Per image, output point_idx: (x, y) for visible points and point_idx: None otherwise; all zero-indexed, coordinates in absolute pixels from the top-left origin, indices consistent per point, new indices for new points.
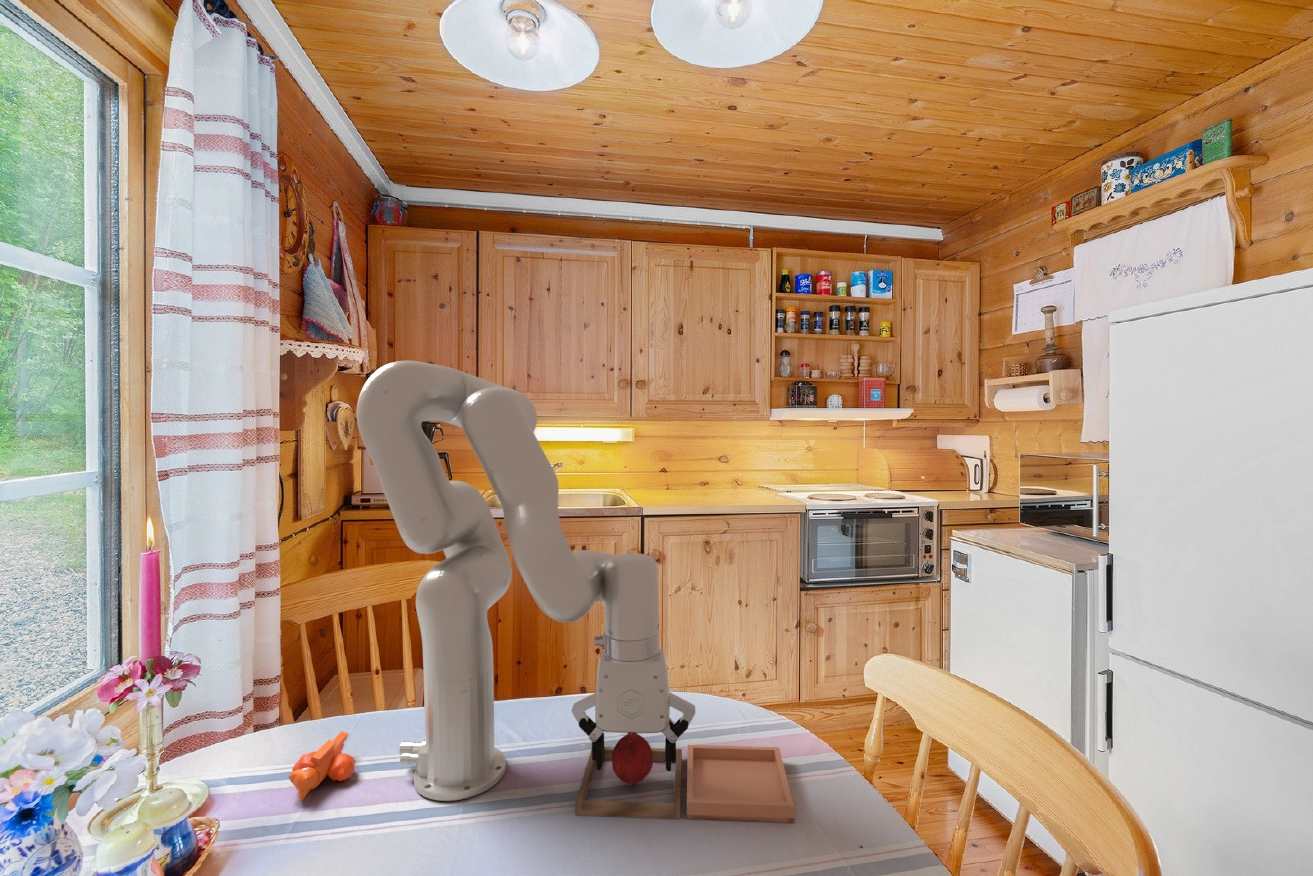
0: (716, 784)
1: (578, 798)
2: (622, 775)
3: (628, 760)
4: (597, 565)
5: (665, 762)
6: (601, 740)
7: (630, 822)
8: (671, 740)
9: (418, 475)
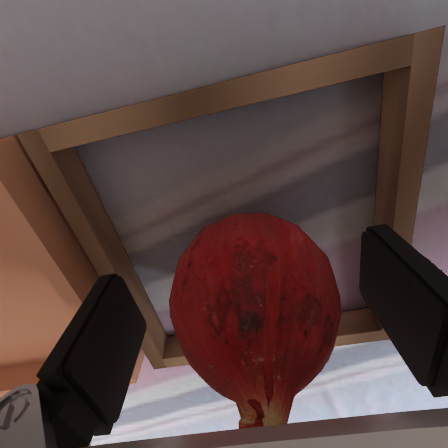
0: (19, 282)
1: (429, 73)
2: (268, 215)
3: (249, 259)
4: None
5: (107, 296)
6: (441, 336)
7: (191, 58)
8: (31, 397)
9: None
